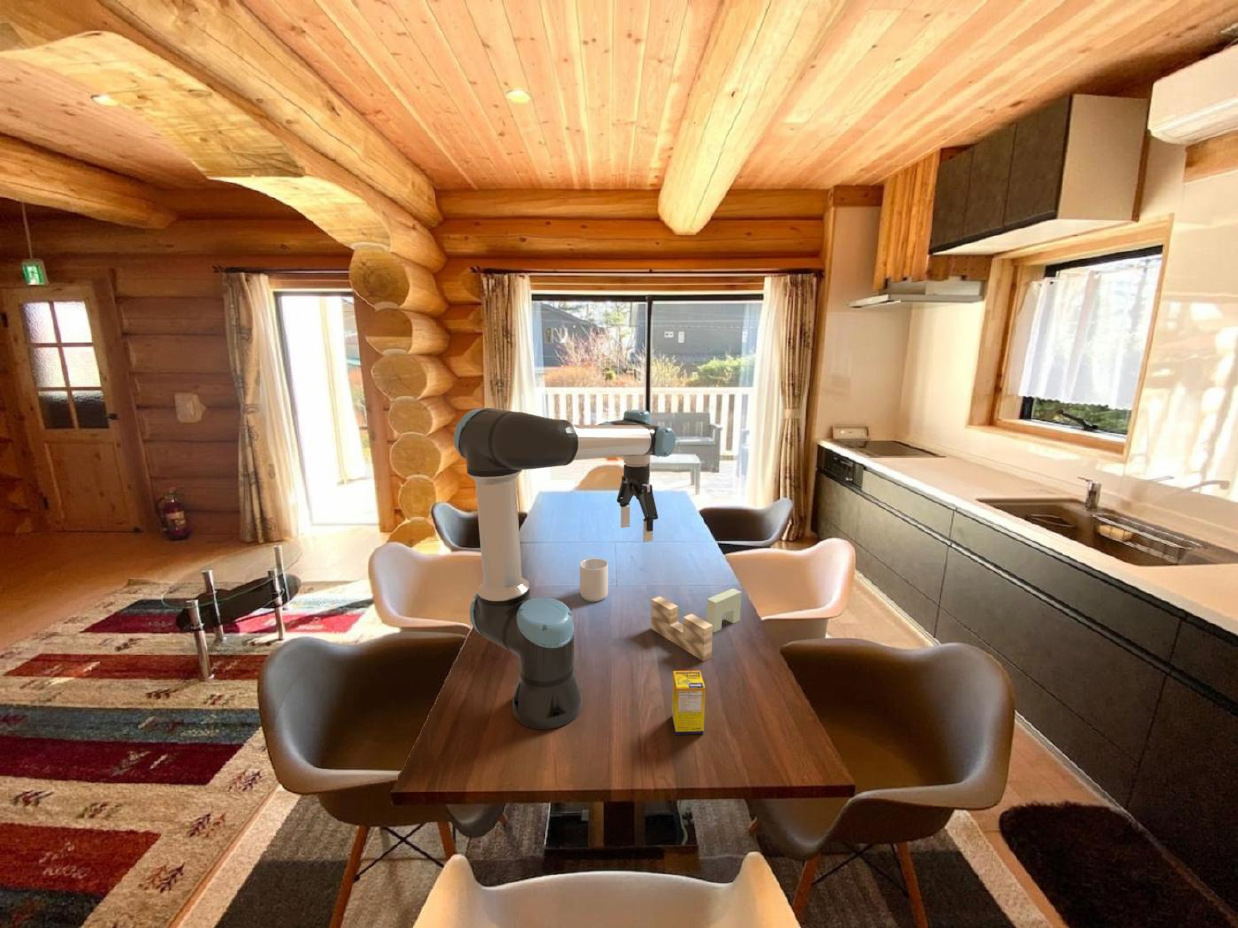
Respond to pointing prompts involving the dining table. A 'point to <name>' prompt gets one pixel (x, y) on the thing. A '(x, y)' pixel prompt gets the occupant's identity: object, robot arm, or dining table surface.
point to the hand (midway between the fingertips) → (636, 533)
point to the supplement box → (688, 702)
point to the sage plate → (724, 608)
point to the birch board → (682, 628)
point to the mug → (594, 579)
